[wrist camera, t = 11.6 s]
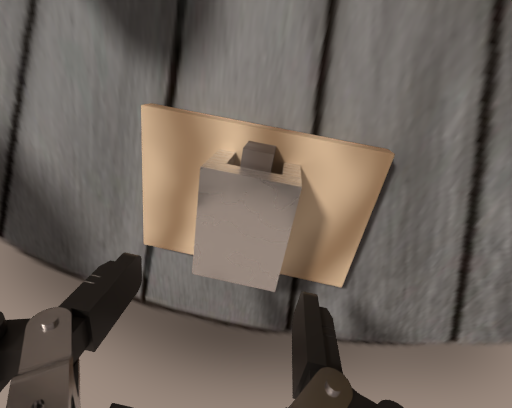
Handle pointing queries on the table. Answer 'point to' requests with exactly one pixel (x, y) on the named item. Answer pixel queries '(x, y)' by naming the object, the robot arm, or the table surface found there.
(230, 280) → the notched grey block
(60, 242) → the table surface
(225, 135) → the stand
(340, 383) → the robot arm
